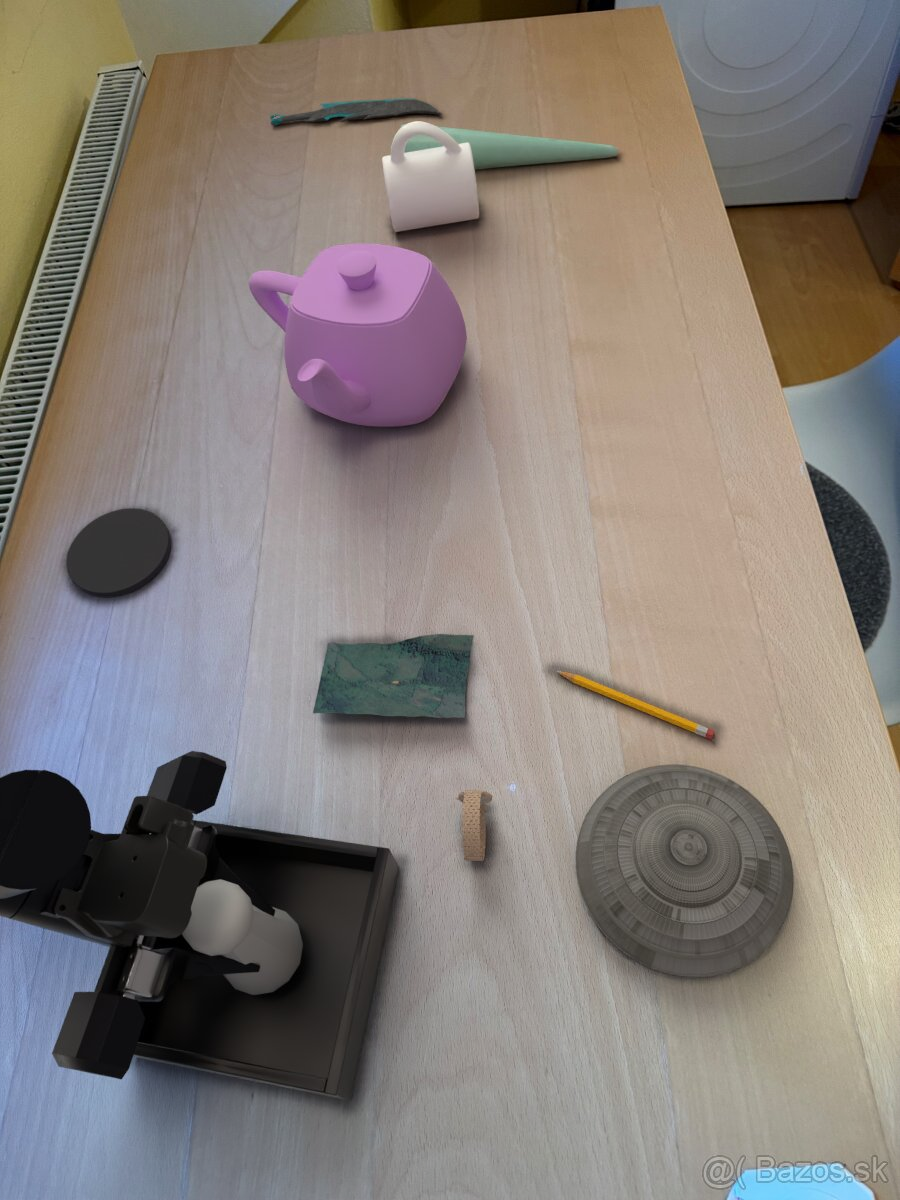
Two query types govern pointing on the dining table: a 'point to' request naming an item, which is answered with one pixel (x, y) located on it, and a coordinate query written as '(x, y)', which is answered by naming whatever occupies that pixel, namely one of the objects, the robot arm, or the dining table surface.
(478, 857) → the perforated watch strap
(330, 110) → the knife
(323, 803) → the dining table surface
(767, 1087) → the dining table surface
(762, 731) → the dining table surface
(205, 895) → the salt shaker
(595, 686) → the pencil
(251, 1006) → the tin
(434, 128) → the mug
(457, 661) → the terrain model
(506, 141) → the long green cone
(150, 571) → the disc
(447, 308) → the teapot
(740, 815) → the flying saucer
